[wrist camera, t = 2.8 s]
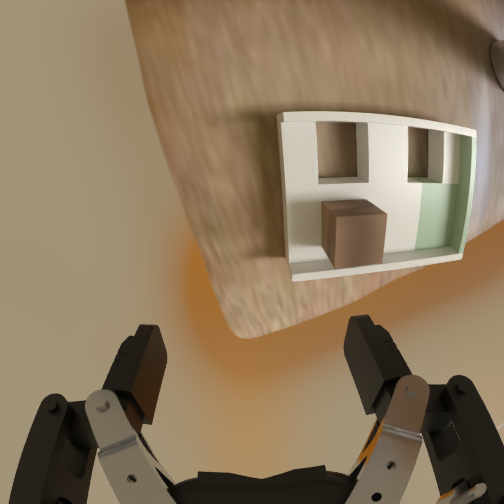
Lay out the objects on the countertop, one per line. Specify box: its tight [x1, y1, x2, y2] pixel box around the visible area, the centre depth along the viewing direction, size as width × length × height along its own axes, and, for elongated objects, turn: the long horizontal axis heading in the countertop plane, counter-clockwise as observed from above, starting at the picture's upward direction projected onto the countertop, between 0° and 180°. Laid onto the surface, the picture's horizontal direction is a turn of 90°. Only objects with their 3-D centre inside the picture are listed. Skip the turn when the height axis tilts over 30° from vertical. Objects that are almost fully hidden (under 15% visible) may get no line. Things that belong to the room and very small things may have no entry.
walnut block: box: [321, 199, 387, 269], centre depth 23 cm, size 4×4×4 cm
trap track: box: [276, 111, 476, 282], centre depth 24 cm, size 21×15×5 cm
